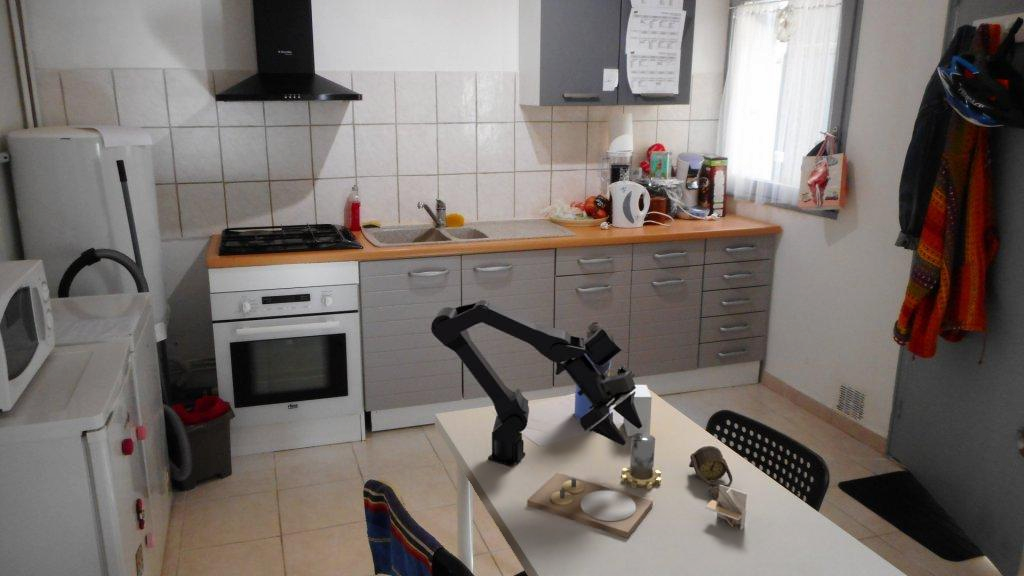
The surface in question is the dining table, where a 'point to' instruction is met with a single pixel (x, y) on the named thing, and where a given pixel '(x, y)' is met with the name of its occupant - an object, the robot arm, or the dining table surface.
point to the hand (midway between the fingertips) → (632, 435)
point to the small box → (640, 411)
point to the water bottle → (582, 401)
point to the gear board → (591, 504)
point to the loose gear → (642, 463)
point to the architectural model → (730, 506)
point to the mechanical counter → (710, 467)
